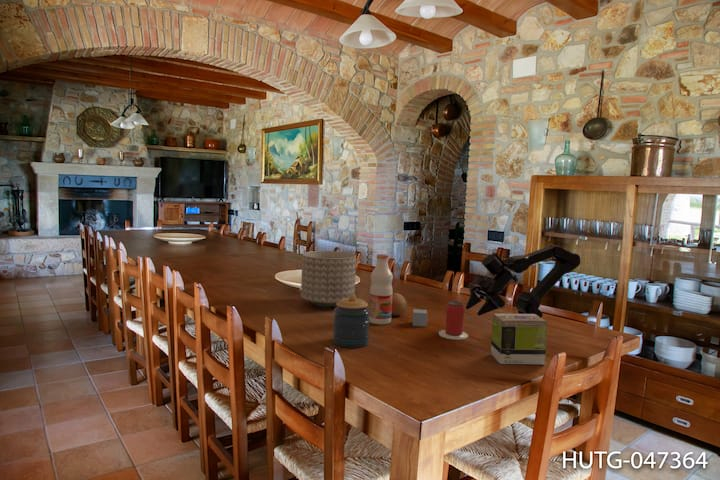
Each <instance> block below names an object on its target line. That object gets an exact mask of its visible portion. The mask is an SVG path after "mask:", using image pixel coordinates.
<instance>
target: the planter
mask: <svg viewBox="0 0 720 480" xmlns="http://www.w3.org/2000/svg"><path fill="white" fill-rule="evenodd" d="M356 263H357V255H356V254H355V253H352V252H345V251H336V250H335V251H334V250H332V251H331V250H317V251H306V252H302V254H301V285H300V286H301V287H300V291H301V292H300V293H301V294H300V296H301V299H303V300H306V301H308V302H309V303H311V304H312V305H314V306H316V307H319V308H329V309H330V308H336V307H337V305H336V303H337V302H338V301H340V300H341V299H344V298H349V295H350V294H354V295H355V296H356V268H357V265H356Z"/></svg>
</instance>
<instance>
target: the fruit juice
mask: <svg viewBox="0 0 720 480" xmlns="http://www.w3.org/2000/svg"><path fill="white" fill-rule="evenodd" d="M389 257H390V256H389V255H388V254H376V264H375V267H374V269H373V270H372V272H371V274H370V280H371V284H370V287H369V303H368V309H369V310H370V313H369V319H370V322H369V323H370V324H374V325H378V326H379V325H388V324H391V322H392V316H393V315H392V294H393V293H394V292H393V289H394V288H393V286H392V282H393V279H394V277H393V276H394V275H393V272H392V271H391V269H390V266H389V261H388V260H389Z"/></svg>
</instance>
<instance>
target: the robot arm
mask: <svg viewBox="0 0 720 480" xmlns="http://www.w3.org/2000/svg"><path fill="white" fill-rule="evenodd" d="M551 258H554V259H555V261H554V265H553V267H552V269H550V270H549V271H548V272H547V274H546V275H545V276H544V277H543V278H542V279H541V280H540V281H539V282H538V283H537V284H536V285H535V287H534V288H533V289H532V290H530V291H525V290H523V291H522V293H521V294H520V295H518V296H517V299H516V301H515V309H516V310H517V312H518V313H517V314H536V315H537V316H539V317H540V318H542V317H543V315H544V314H543V312H542V311H541V310H540V306H541V304H542V303H541V302H542V299H543V298H544V297H545V296H546V295H547V293H549V292H550V291H551V289H552V288H553V287H554V286H555V285H556V284H557V283H558V282H559V281H560V280H561V279H562V277H563V276H564V275H565V274H568V273H570V272H572V271H574V270H575V269H577V268H578V267H579V266H580V265H581V256H580V255H579V254H577V253H576V252H575V253H574V252H571V251H568V250H566V249H564V248H562V247H561V246H560V245H556V244H555V245H554V244H549V245H548V246H546V247H543V248H540V249H537V250H535V251H532V252H529V253H526V254H524V255H523V254H521V255H512V256H509V257H507V258H506V259H503V260H502V259H501V257H500V256H499V254H498V253H496V252H492V254H489V255H487V256H485V257H484V258H483V259H482V261H481V265H483V267H484V268H485V269H486V270H487V271H488V273H490V275H494V276H493V277H492V278H489V277H487V276H485V277H481V276H480V275H475V276H474V278H473V280H472V283H473V284H471V285H470V286H469V287H468V289H469V292H470V293H469V298H468V300H467V303H466V305H465V307H464V309H466V310H469V309H471V308H473V307H474V306H476V305H477V304H479V303H481V302H482V300H483V299H485V302H484V304H483V305H482V306H481V307H480V308H479V310H478V311H477V313H476V315H477V316H479V317H480V316H482V315H484V314H487V313H489V312H492V311H495V310H499V309H503V308H504V307H505V306H506V301H505V299H503V298H502V297H501V296H500V295H499V294H500V293H504V292H505V287H507V285H508V284H509V283H510V282H512V283H513V282H514V283H517V282H518V281H517V274H521V273H523V272H525V271H527V270H528V269H529V268H530V267H532V266H533V265H534V264H537V263H541V262H544V261H546V260H548V259H551ZM513 273H516V274H513ZM542 319H543V318H542Z"/></svg>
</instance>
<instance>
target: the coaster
mask: <svg viewBox="0 0 720 480" xmlns="http://www.w3.org/2000/svg"><path fill="white" fill-rule="evenodd" d="M438 336H439V337H441V338H442V339H447V340H453V341H454V340H455V341H460V340H466V339H468V337H469V335H468V333H466V332H465V331H463V333H462V335H459V336H452V335H448V334H447V333H446V332H445V329H442V330H439V331H438Z"/></svg>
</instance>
